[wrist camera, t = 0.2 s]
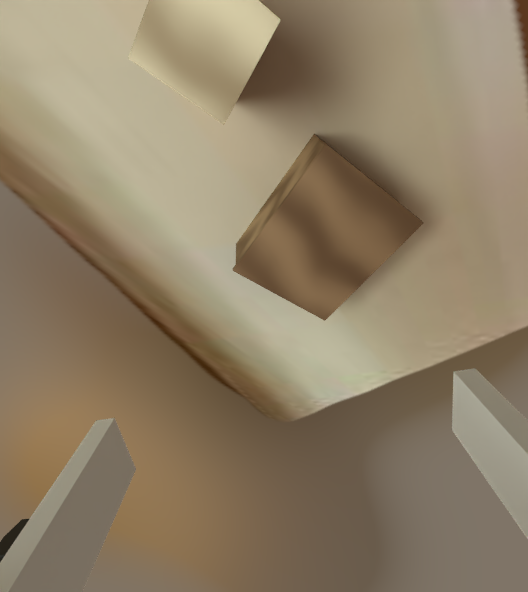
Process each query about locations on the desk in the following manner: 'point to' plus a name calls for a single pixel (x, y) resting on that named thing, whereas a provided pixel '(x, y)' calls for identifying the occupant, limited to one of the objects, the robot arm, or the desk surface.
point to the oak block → (204, 48)
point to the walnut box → (322, 232)
